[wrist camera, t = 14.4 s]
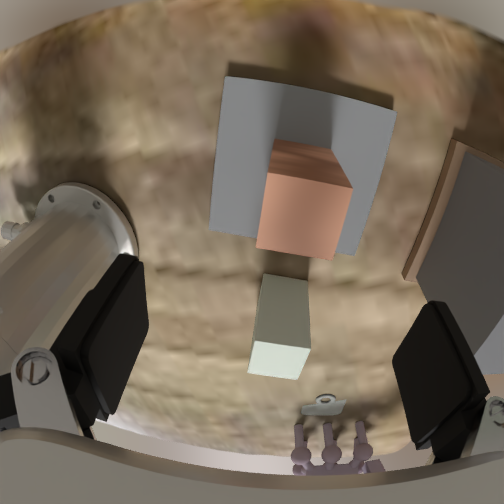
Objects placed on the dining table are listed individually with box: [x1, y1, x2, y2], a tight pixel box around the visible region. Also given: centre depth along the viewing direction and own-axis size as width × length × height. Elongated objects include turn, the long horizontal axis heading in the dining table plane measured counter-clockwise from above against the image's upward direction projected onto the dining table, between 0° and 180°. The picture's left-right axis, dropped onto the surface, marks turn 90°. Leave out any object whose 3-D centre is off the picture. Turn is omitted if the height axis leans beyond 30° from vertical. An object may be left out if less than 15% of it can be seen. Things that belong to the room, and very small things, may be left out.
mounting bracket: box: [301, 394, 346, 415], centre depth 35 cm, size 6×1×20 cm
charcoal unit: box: [402, 138, 504, 374], centre depth 18 cm, size 9×13×12 cm
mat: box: [209, 76, 397, 256], centre depth 22 cm, size 12×12×1 cm
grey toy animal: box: [291, 421, 386, 476], centre depth 38 cm, size 20×11×14 cm, turn 96°
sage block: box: [247, 273, 311, 380], centre depth 25 cm, size 4×4×8 cm
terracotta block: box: [256, 139, 353, 260], centre depth 18 cm, size 4×4×8 cm
